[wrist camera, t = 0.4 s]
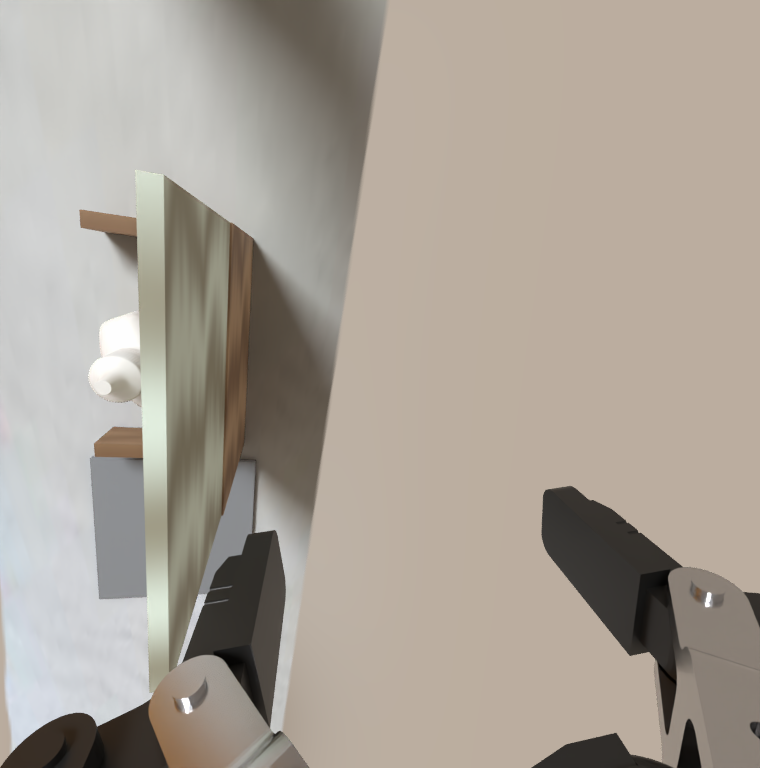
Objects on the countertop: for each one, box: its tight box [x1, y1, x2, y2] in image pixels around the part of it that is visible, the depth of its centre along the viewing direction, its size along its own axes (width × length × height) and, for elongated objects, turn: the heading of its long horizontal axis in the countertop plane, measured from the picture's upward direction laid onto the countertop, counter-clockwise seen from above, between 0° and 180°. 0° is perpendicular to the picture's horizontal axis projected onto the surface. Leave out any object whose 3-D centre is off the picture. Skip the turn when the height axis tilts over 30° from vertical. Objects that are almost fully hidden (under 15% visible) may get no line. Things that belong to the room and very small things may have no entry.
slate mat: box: [90, 456, 256, 599], centre depth 33 cm, size 13×12×1 cm
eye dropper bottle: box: [88, 311, 142, 407], centre depth 23 cm, size 4×6×12 cm
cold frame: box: [80, 170, 253, 693], centre depth 19 cm, size 16×10×20 cm, turn 172°
